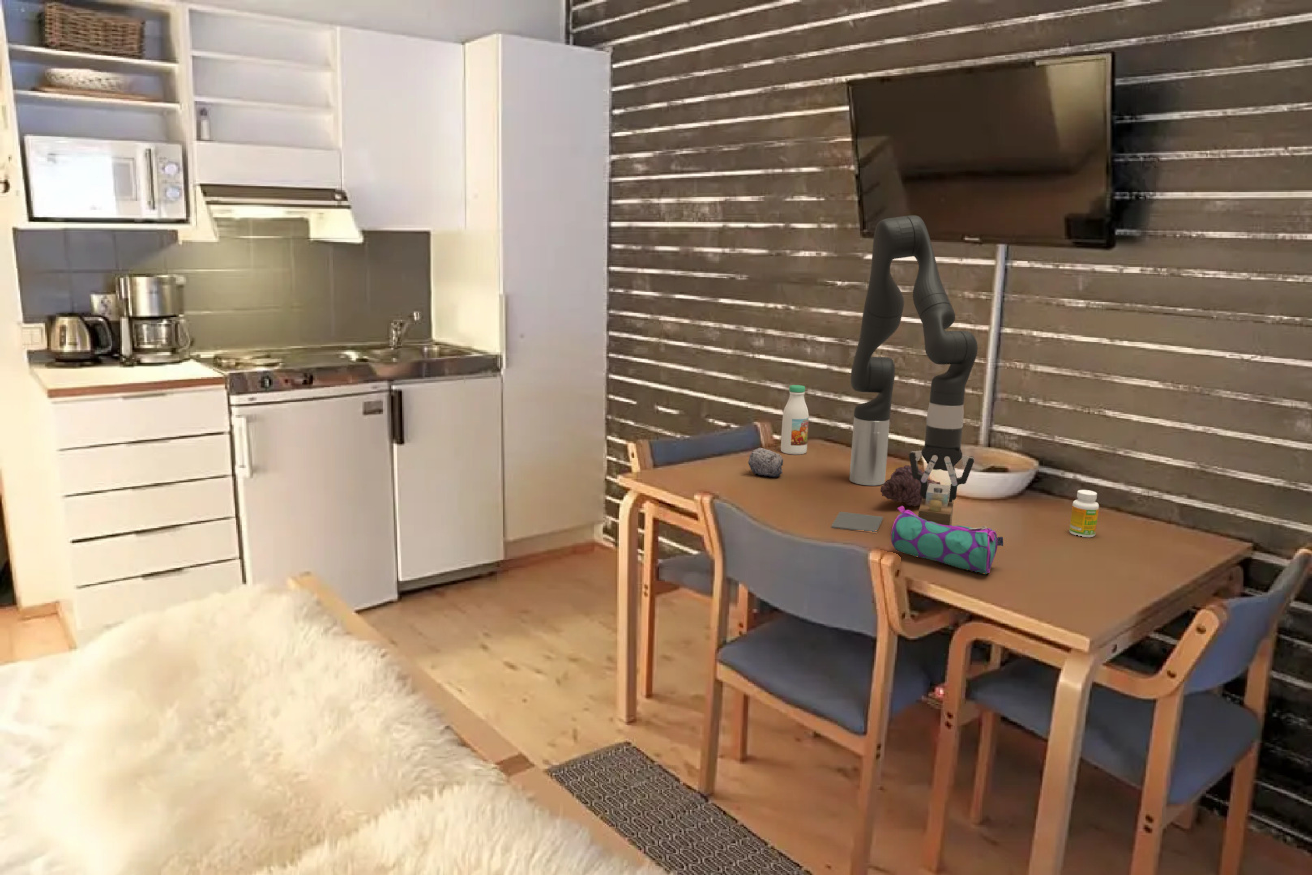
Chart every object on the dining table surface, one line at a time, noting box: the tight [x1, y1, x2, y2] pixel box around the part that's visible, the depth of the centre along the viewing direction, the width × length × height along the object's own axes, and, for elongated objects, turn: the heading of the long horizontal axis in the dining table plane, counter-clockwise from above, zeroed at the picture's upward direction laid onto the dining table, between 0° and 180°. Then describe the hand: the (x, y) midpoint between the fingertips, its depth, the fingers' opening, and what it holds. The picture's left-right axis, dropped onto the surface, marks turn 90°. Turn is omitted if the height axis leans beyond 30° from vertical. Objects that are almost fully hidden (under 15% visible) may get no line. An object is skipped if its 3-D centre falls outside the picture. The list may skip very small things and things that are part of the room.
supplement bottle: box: [1068, 489, 1100, 538], centre depth 212 cm, size 5×5×10 cm
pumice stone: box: [747, 447, 784, 478], centre depth 256 cm, size 10×8×10 cm
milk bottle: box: [780, 384, 810, 455], centre depth 282 cm, size 8×8×20 cm
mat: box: [830, 511, 884, 533], centre depth 217 cm, size 12×10×1 cm
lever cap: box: [925, 483, 951, 508], centre depth 208 cm, size 8×4×3 cm, turn 160°
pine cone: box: [880, 464, 941, 507], centre depth 231 cm, size 18×10×10 cm, turn 118°
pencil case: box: [890, 505, 1004, 575], centre depth 192 cm, size 21×9×10 cm, turn 53°
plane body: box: [917, 499, 955, 526], centre depth 208 cm, size 14×7×10 cm, turn 160°
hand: (937, 499), depth 208 cm, fingers open, 5 cm apart
